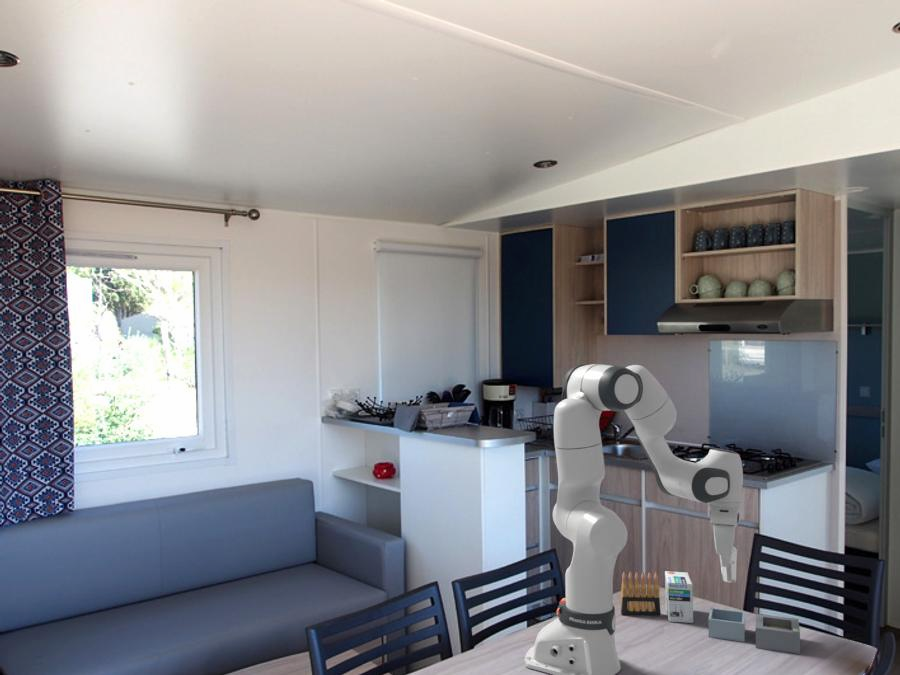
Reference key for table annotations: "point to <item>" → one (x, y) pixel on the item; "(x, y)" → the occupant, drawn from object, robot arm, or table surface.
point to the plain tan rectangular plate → (777, 627)
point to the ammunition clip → (640, 596)
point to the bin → (727, 624)
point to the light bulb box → (679, 597)
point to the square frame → (777, 634)
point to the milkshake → (730, 567)
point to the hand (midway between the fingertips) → (726, 563)
